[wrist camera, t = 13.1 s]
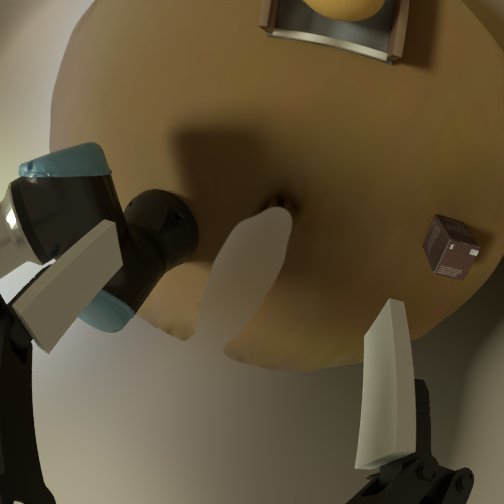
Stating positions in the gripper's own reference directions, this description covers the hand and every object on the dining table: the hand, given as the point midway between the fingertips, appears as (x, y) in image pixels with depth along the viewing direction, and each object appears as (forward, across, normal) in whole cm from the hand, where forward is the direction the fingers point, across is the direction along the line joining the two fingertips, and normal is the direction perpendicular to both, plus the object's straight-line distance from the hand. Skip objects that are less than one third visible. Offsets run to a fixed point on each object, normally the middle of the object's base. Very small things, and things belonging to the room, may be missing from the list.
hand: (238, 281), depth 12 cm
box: (+29, +25, -7) cm, 39 cm away
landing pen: (+29, +1, +22) cm, 36 cm away
